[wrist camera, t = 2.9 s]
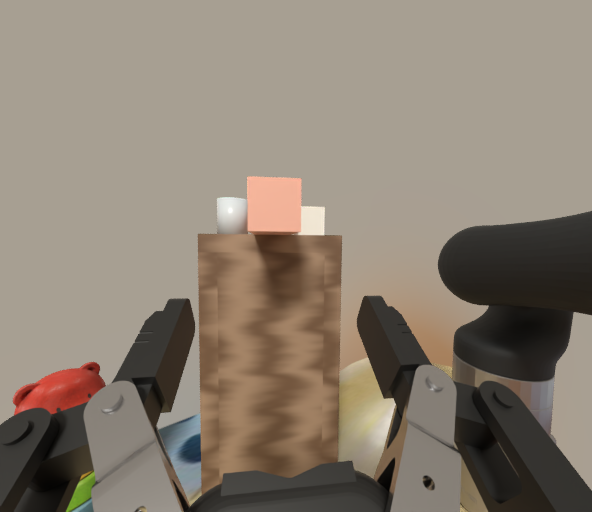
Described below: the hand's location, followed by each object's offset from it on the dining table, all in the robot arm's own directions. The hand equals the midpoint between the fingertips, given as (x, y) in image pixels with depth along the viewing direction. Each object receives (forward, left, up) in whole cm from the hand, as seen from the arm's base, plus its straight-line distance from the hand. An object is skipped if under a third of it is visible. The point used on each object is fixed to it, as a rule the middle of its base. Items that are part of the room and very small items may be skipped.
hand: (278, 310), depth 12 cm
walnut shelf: (0, -23, -28) cm, 36 cm away
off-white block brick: (-5, -24, +4) cm, 25 cm away
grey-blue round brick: (+5, -24, +4) cm, 25 cm away
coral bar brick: (0, -19, +4) cm, 19 cm away
